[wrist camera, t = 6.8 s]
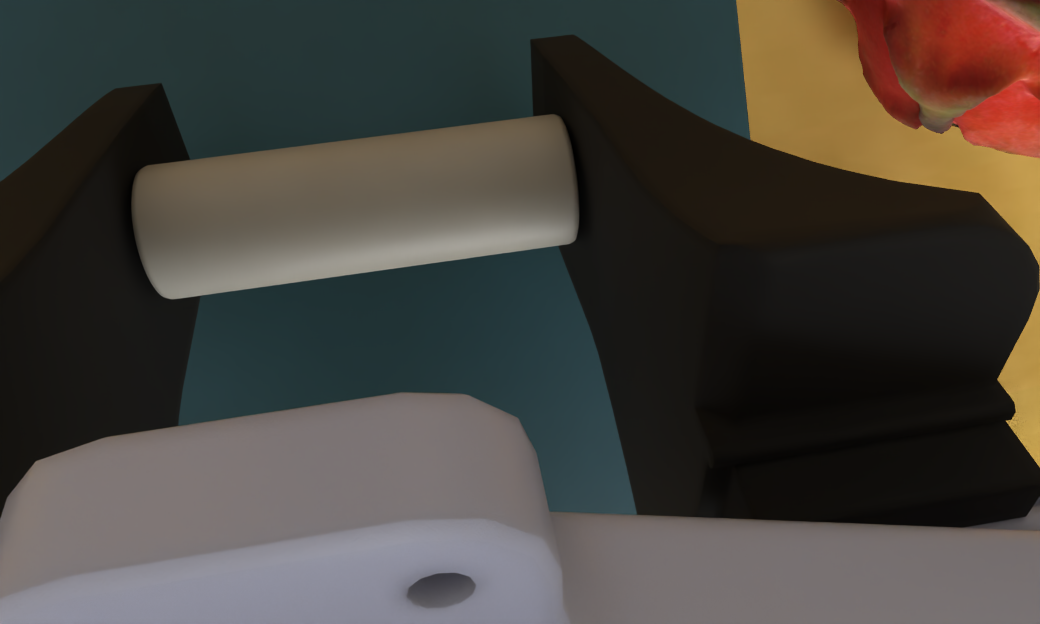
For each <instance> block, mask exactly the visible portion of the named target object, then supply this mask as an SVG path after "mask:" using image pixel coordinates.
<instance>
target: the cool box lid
mask: <svg viewBox="0 0 1040 624" xmlns="http://www.w3.org/2000/svg"><path fill="white" fill-rule="evenodd" d="M571 34H574V35H575V36H577V37H579V38H580V39H582V40H583V41H585V42H586V43H588V44H589V45H590V46H592V47H593V48H594V49H596V50H597V51H599V52H600V53H601V54H603V55H604V56H605V57H607V58H608V59H610V60H611V61H612V62H614V63H615V64H616V65H618V66H619V67H621V68H622V69H624V70H625V71H626V72H628V73H629V74H631V75H632V76H634V77H635V78H637V79H638V80H639V81H641V82H642V83H644V84H645V85H647V86H649V87H650V88H652V89H653V90H655V91H656V92H658V93H660V94H661V95H663V96H664V97H666V98H668V99H669V100H671V101H673V102H674V103H676V104H678V105H680V106H682V107H683V108H685V109H687V110H689V111H690V112H692V113H694V114H696V115H697V116H699V117H701V118H703V119H705V120H707V121H709V122H711V123H713V124H715V125H717V126H720V127H722V128H724V129H726V130H729V131H731V132H733V133H735V134H738V135H740V136H742V137H745V138H747V139H749V140H750V131H749V122H748V112H747V102H746V92H745V83H744V73H743V63H742V54H741V44H740V34H739V24H738V15H737V5H736V0H0V182H1V181H2V180H3V179H4V178H6V177H7V176H8V175H10V174H11V173H12V172H13V171H15V170H16V169H17V168H19V167H20V166H21V165H22V164H24V163H25V162H26V161H27V160H28V159H30V158H31V157H32V156H33V155H34V154H36V153H37V152H38V151H39V150H40V149H41V148H42V147H44V146H45V145H46V144H47V143H48V142H49V141H51V140H52V139H53V138H54V137H55V136H56V135H58V134H59V133H60V132H61V131H62V130H63V129H65V128H66V127H67V126H68V125H69V124H70V123H71V122H73V121H74V120H75V119H76V118H77V117H78V116H80V115H81V114H82V113H83V112H84V111H85V110H87V109H88V108H89V107H90V106H91V105H93V104H94V103H95V102H96V101H98V100H99V99H100V98H101V97H103V96H104V95H106V94H107V93H109V92H110V91H112V90H113V89H115V88H122V87H131V86H139V85H148V84H156V83H162V85H163V88H164V90H165V93H166V96H167V98H168V101H169V104H170V106H171V109H172V112H173V115H174V117H175V120H176V123H177V125H178V128H179V131H180V133H181V136H182V139H183V141H184V144H185V147H186V149H187V152H188V155H189V157H190V160H186V161H179V162H171V163H163V164H155V165H147V166H145V167H143V168H142V169H140V170H139V171H138V172H137V174H136V176H135V178H134V182H133V187H132V199H131V212H132V223H133V230H134V236H135V241H136V245H137V249H138V252H139V256H140V259H141V262H142V264H143V267H144V269H145V272H146V274H147V276H148V278H149V280H150V282H151V284H152V285H153V287H154V288H155V290H156V291H157V292H158V293H159V294H160V295H161V296H163V297H165V298H169V299H180V298H187V297H194V296H201V297H200V302H199V307H198V313H197V318H196V323H195V328H194V333H193V338H192V344H191V349H190V354H189V359H188V364H187V369H186V375H185V380H184V385H183V391H182V398H181V405H180V413H179V424H178V426H183V425H189V424H196V423H202V422H209V421H216V420H222V419H229V418H235V417H242V416H249V415H255V414H262V413H268V412H275V411H281V410H288V409H295V408H301V407H308V406H314V405H321V404H328V403H334V402H341V401H347V400H354V399H361V398H367V397H374V396H380V395H387V394H394V393H400V392H411V393H456V394H466V395H469V396H471V397H474V398H476V399H478V400H480V401H482V402H484V403H487V404H489V405H491V406H493V407H495V408H498V409H500V410H502V411H504V412H506V413H508V414H511V415H513V416H515V417H517V418H518V419H519V421H520V423H521V424H522V426H523V428H524V430H525V432H526V434H527V436H528V438H529V440H530V442H531V443H532V445H533V447H534V449H535V451H536V453H537V457H538V462H539V467H540V471H541V476H542V480H543V485H544V490H545V494H546V499H547V503H548V508H549V512H575V513H601V514H626V515H637V512H636V507H635V503H634V498H633V494H632V489H631V485H630V481H629V476H628V472H627V467H626V463H625V459H624V455H623V451H622V447H621V442H620V438H619V434H618V430H617V426H616V422H615V418H614V413H613V409H612V405H611V401H610V398H609V394H608V390H607V386H606V382H605V378H604V374H603V370H602V366H601V362H600V359H599V355H598V351H597V348H596V345H595V342H594V339H593V336H592V333H591V330H590V327H589V325H588V322H587V319H586V317H585V314H584V312H583V309H582V306H581V304H580V301H579V299H578V296H577V294H576V291H575V288H574V286H573V283H572V281H571V278H570V276H569V273H568V270H567V268H566V265H565V263H564V260H563V257H562V255H561V252H560V250H559V247H558V246H559V245H566V244H570V243H572V242H574V241H575V240H576V237H577V233H578V228H579V191H578V181H577V173H576V166H575V160H574V154H573V149H572V145H571V141H570V137H569V134H568V131H567V128H566V126H565V124H564V122H563V120H562V118H561V117H560V116H558V115H555V114H550V115H542V116H534V117H533V100H532V73H531V47H530V39H537V38H546V37H554V36H563V35H571Z"/></svg>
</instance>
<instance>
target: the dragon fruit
mask: <svg viewBox="0 0 1040 624" xmlns="http://www.w3.org/2000/svg"><path fill="white" fill-rule="evenodd" d="M837 1H839V2H841V3H842V4H843V5H844V6H845V7H846V8H847V9H848V10H849V11H850V12H851V14H852V15H853V17H854V19H855V21H856V24H857V32H858V50H859V58H860V61H861V64H862V67H863V75H864V77H865V79H866V81H867V83H868V85H869V87H870V88H871V90H872V91H873V93H874V94H875V96H876V97H877V99H878V100H879V102H880V103H881V104H882V105H883V107H884V108H885V110H886V111H887V112H888V113H889V114H890V115H891V116H892V117H893V118H895V119H896V120H898V121H900V122H901V123H903V124H905V125H906V126H909V127H911V128H914V129H918V128H919V127H920V126H922V125H923V126H924V127H926V128H927V129H929V130H931V131H934V132H936V133H940V134H942V133H944V131H947V130H949V128H950V127H951V125H952V126H955V127H959V128H960V130H961V132H962V134H963V137H964V139H965V140H967V141H968V142H970V143H971V144H973V145H978V146H985V147H990V148H994V149H996V150H999V151H1003V152H1006V153H1010V154H1016V155H1024V156H1030V157H1037V158H1040V0H837Z"/></svg>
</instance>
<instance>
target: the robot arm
mask: <svg viewBox="0 0 1040 624" xmlns="http://www.w3.org/2000/svg"><path fill="white" fill-rule="evenodd" d="M530 47H531V73H532V100H533V117H534V116H542V115H550V114H555V115H558V116H560V117H561V118H562V120H563V122H564V124H565V126H566V128H567V131H568V134H569V137H570V141H571V145H572V149H573V154H574V160H575V166H576V173H577V181H578V191H579V228H578V233H577V237H576V240H575V241H574V242H572V243H570V244H566V245H559V246H558V247H559V250H560V252H561V255H562V257H563V260H564V263H565V265H566V268H567V270H568V273H569V276H570V278H571V281H572V283H573V286H574V288H575V291H576V294H577V296H578V299H579V301H580V304H581V306H582V309H583V312H584V314H585V317H586V319H587V322H588V325H589V327H590V330H591V333H592V336H593V339H594V342H595V345H596V348H597V351H598V355H599V359H600V362H601V366H602V370H603V374H604V378H605V382H606V386H607V390H608V394H609V398H610V401H611V405H612V409H613V413H614V418H615V422H616V426H617V430H618V434H619V438H620V442H621V447H622V451H623V455H624V459H625V463H626V467H627V472H628V476H629V481H630V485H631V489H632V494H633V498H634V503H635V507H636V512H637V515H626V514H601V513H575V512H549V508H548V503H547V499H546V494H545V490H544V485H543V480H542V476H541V471H540V467H539V462H538V457H537V453H536V451H535V449H534V447H533V445H532V443H531V442H530V440H529V438H528V436H527V434H526V432H525V430H524V428H523V426H522V424H521V423H520V421H519V419H518V418H517V417H515V416H513V415H511V414H508V413H506V412H504V411H502V410H500V409H498V408H495V407H493V406H491V405H489V404H487V403H484V402H482V401H480V400H478V399H476V398H474V397H471V396H469V395H466V394H456V393H411V392H400V393H394V394H387V395H380V396H374V397H367V398H361V399H354V400H347V401H341V402H334V403H328V404H321V405H314V406H308V407H301V408H295V409H288V410H281V411H275V412H268V413H262V414H255V415H249V416H242V417H235V418H229V419H222V420H216V421H209V422H202V423H196V424H189V425H183V426H178V424H179V413H180V405H181V398H182V391H183V385H184V380H185V375H186V369H187V364H188V359H189V354H190V349H191V344H192V338H193V333H194V328H195V323H196V318H197V313H198V307H199V302H200V297H201V296H194V297H187V298H180V299H169V298H165V297H163V296H161V295H160V294H159V293H158V292H157V291H156V290H155V288H154V287H153V285H152V284H151V282H150V280H149V278H148V276H147V274H146V272H145V269H144V267H143V264H142V262H141V259H140V256H139V252H138V249H137V245H136V241H135V236H134V230H133V223H132V212H131V199H132V187H133V182H134V178H135V176H136V174H137V172H138V171H139V170H140V169H142V168H143V167H145V166H147V165H155V164H163V163H171V162H179V161H186V160H190V157H189V155H188V152H187V149H186V147H185V144H184V141H183V139H182V136H181V133H180V131H179V128H178V125H177V123H176V120H175V117H174V115H173V112H172V109H171V106H170V104H169V101H168V98H167V96H166V93H165V90H164V88H163V85H162V83H156V84H148V85H139V86H131V87H122V88H115V89H113V90H112V91H110V92H109V93H107V94H106V95H104V96H103V97H101V98H100V99H99V100H98V101H96V102H95V103H94V104H93V105H91V106H90V107H89V108H88V109H87V110H85V111H84V112H83V113H82V114H81V115H80V116H78V117H77V118H76V119H75V120H74V121H73V122H71V123H70V124H69V125H68V126H67V127H66V128H65V129H63V130H62V131H61V132H60V133H59V134H58V135H56V136H55V137H54V138H53V139H52V140H51V141H49V142H48V143H47V144H46V145H45V146H44V147H42V148H41V149H40V150H39V151H38V152H37V153H36V154H34V155H33V156H32V157H31V158H30V159H28V160H27V161H26V162H25V163H24V164H22V165H21V166H20V167H19V168H17V169H16V170H15V171H13V172H12V173H11V174H10V175H8V176H7V177H6V178H4V179H3V180H2V181H1V182H0V624H1040V468H1039V466H1038V465H1037V463H1036V462H1035V461H1034V459H1033V458H1032V457H1031V455H1030V454H1029V452H1028V451H1027V450H1026V448H1025V447H1024V446H1023V444H1022V443H1021V442H1020V440H1019V439H1018V437H1017V436H1016V435H1015V433H1014V432H1013V431H1012V429H1011V428H1010V426H1009V425H1008V424H1007V422H1006V420H1011V419H1012V417H1013V416H1014V414H1015V412H1016V410H1015V404H1014V402H1013V400H1012V399H1011V398H1010V396H1009V395H1008V394H1007V392H1006V391H1005V390H1004V388H1003V387H1002V386H1001V384H1000V383H999V382H998V380H997V378H998V377H999V375H1000V373H1001V371H1002V369H1003V367H1004V365H1005V363H1006V361H1007V359H1008V357H1009V355H1010V354H1011V352H1012V350H1013V348H1014V346H1015V344H1016V342H1017V340H1018V338H1019V336H1020V334H1021V333H1022V331H1023V329H1024V327H1025V325H1026V323H1027V321H1028V319H1029V317H1030V314H1031V312H1032V309H1033V306H1034V303H1035V300H1036V298H1037V295H1038V292H1039V289H1040V283H1039V264H1038V263H1037V261H1036V259H1035V257H1034V255H1033V253H1032V251H1031V249H1030V247H1029V246H1028V245H1027V244H1026V243H1025V242H1024V240H1023V239H1022V238H1021V237H1020V236H1019V235H1018V234H1017V233H1016V232H1015V231H1014V230H1013V229H1012V228H1011V226H1010V225H1009V224H1008V223H1007V222H1006V221H1005V220H1004V219H1003V218H1002V217H1001V216H1000V215H999V214H998V212H997V211H996V210H995V209H994V208H993V207H992V206H991V205H990V204H989V203H988V202H987V201H986V200H985V199H984V198H983V197H982V196H981V195H980V194H979V193H975V192H968V191H961V190H953V189H946V188H939V187H932V186H925V185H918V184H911V183H904V182H897V181H892V180H887V179H882V178H878V177H873V176H869V175H864V174H860V173H855V172H851V171H846V170H842V169H838V168H834V167H831V166H827V165H823V164H819V163H816V162H812V161H809V160H806V159H803V158H800V157H797V156H794V155H791V154H788V153H785V152H782V151H778V150H775V149H773V148H770V147H767V146H765V145H762V144H759V143H757V142H754V141H751V140H749V139H747V138H745V137H742V136H740V135H738V134H735V133H733V132H731V131H729V130H726V129H724V128H722V127H720V126H717V125H715V124H713V123H711V122H709V121H707V120H705V119H703V118H701V117H699V116H697V115H696V114H694V113H692V112H690V111H689V110H687V109H685V108H683V107H682V106H680V105H678V104H676V103H674V102H673V101H671V100H669V99H668V98H666V97H664V96H663V95H661V94H660V93H658V92H656V91H655V90H653V89H652V88H650V87H649V86H647V85H645V84H644V83H642V82H641V81H639V80H638V79H637V78H635V77H634V76H632V75H631V74H629V73H628V72H626V71H625V70H624V69H622V68H621V67H619V66H618V65H616V64H615V63H614V62H612V61H611V60H610V59H608V58H607V57H605V56H604V55H603V54H601V53H600V52H599V51H597V50H596V49H594V48H593V47H592V46H590V45H589V44H588V43H586V42H585V41H583V40H582V39H580V38H579V37H577V36H575V35H574V34H571V35H563V36H554V37H546V38H537V39H530Z"/></svg>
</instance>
